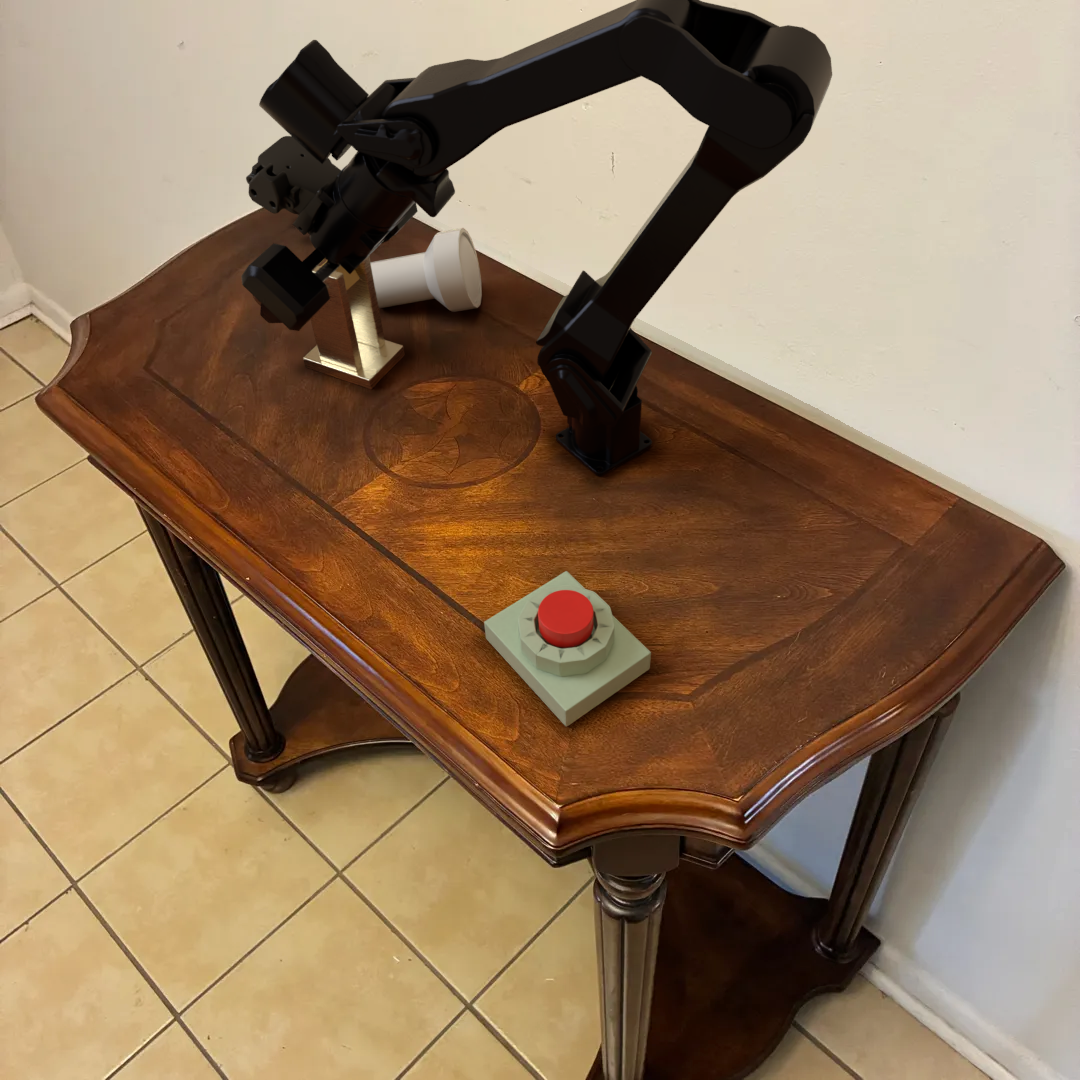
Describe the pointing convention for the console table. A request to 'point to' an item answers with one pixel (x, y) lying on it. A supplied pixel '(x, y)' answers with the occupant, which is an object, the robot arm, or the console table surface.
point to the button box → (568, 653)
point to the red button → (565, 618)
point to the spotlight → (432, 274)
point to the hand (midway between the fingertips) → (298, 286)
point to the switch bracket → (352, 332)
